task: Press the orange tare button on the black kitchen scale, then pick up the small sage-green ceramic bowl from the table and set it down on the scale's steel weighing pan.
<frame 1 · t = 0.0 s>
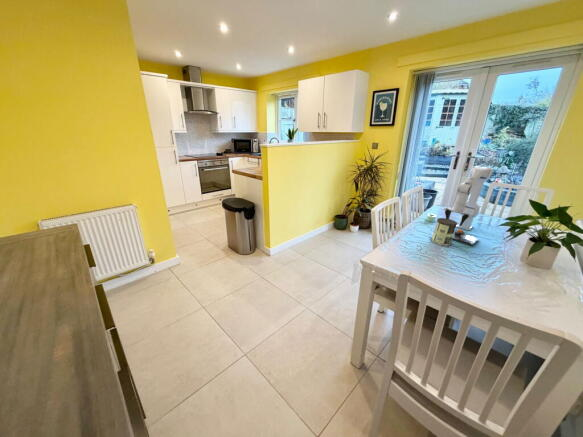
hand: (453, 223, 144), 10 cm above the table, tool pointing down, fingers open, 7 cm apart
coffee can: (440, 241, 142), on the table
scale pan: (467, 237, 141), resting on scale
tare button: (460, 231, 149), point 4 cm above the table, slide at 0.1 cm
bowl: (430, 220, 174), on the table
scale: (463, 240, 145), on the table
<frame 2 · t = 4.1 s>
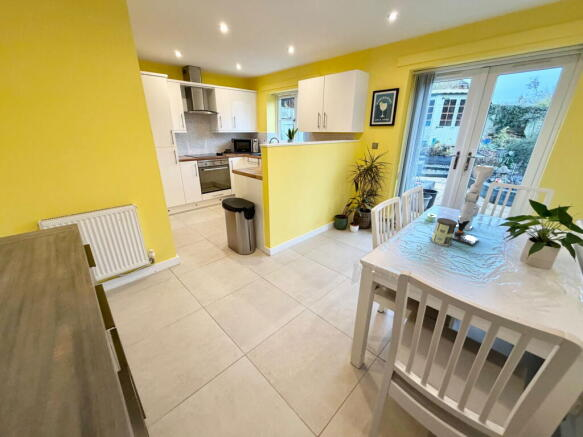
hand: (460, 230, 149), 4 cm above the table, tool pointing down, fingers closed, pressing on tare button
tare button: (460, 231, 149), point 3 cm above the table, slide at -0.2 cm, touching gripper
everything else where it was.
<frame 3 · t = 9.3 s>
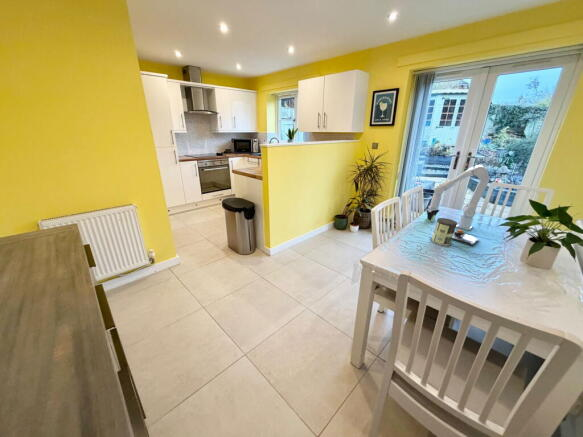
hand: (430, 218, 174), 1 cm above the table, tool pointing down, fingers closed on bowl, 5 cm apart
tare button: (460, 231, 149), point 4 cm above the table, slide at 0.1 cm
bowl: (430, 220, 174), on the table, touching gripper
everything else where it was.
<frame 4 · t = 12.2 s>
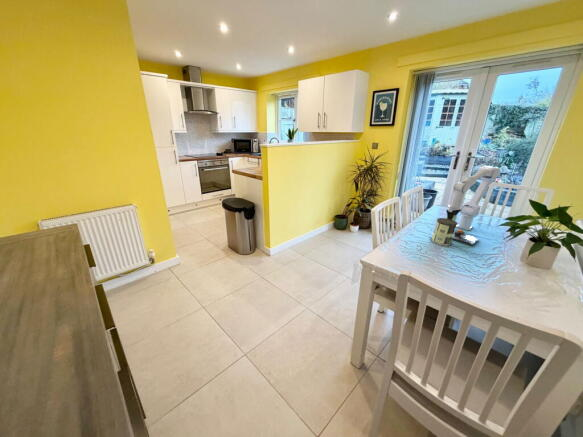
hand: (450, 219, 154), 8 cm above the table, tool pointing down, fingers closed on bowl, 5 cm apart
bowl: (450, 221, 155), point 7 cm above the table, touching gripper
everything else where it was.
when the fingers open (5 cm above the table, at t = 15.1 s): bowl stays where it is, resting on scale pan.
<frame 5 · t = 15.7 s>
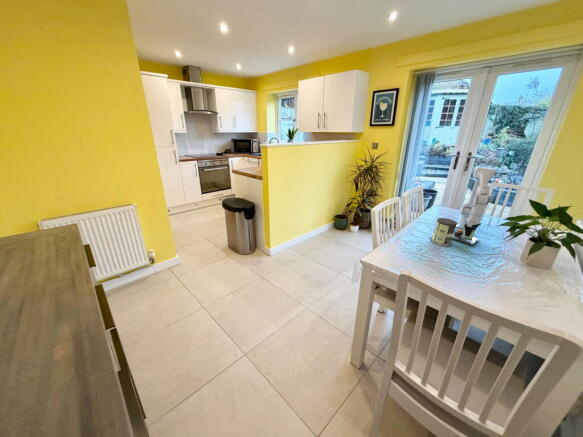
hand: (468, 234, 140), 5 cm above the table, tool pointing down, fingers open, 7 cm apart
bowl: (467, 237, 141), point 3 cm above the table, touching scale pan
everything else where it was.
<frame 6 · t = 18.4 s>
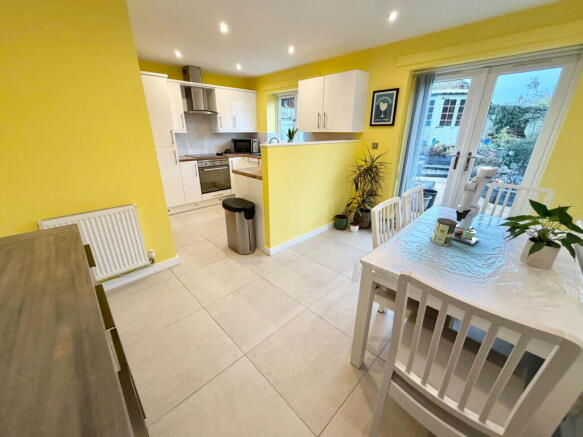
hand: (460, 219, 152), 9 cm above the table, tool pointing down, fingers open, 7 cm apart
nothing on the table moved.
at the end: tare button pushed in 1.0 cm at the most during the clip, back to where it started at the end; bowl 0.1 cm off-centre on the scale pan, point 0.4 cm above the scale pan's base; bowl tilted 0° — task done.
